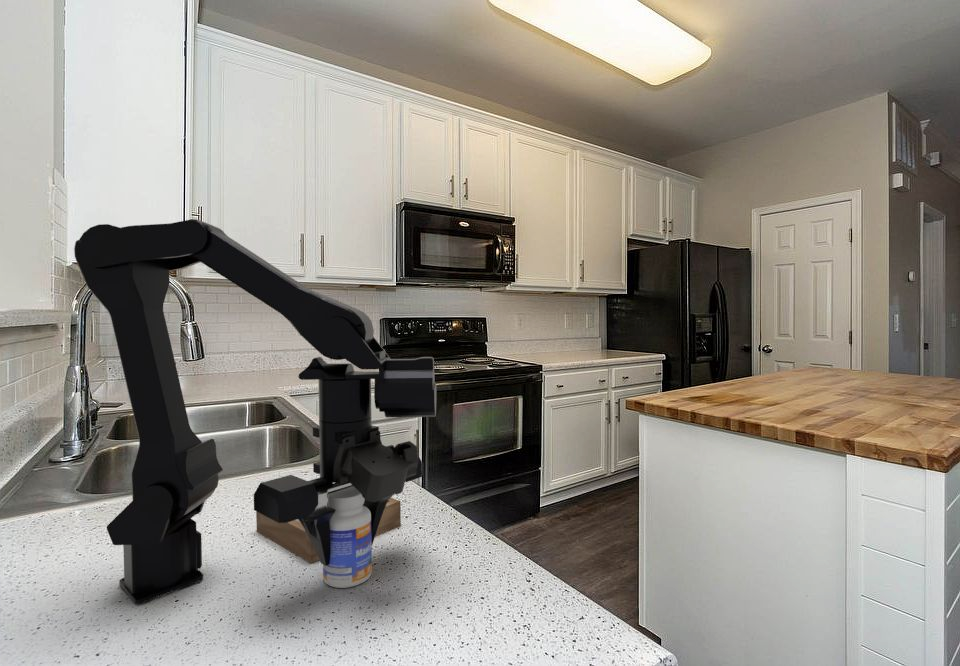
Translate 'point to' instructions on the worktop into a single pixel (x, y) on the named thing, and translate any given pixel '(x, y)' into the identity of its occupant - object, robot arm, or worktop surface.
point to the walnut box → (298, 540)
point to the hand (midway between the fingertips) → (347, 554)
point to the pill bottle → (349, 540)
